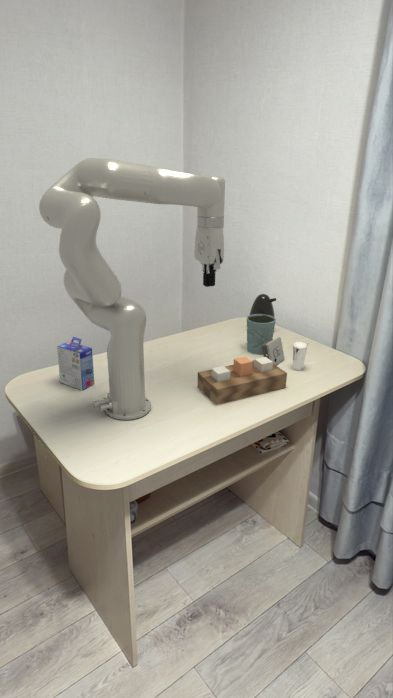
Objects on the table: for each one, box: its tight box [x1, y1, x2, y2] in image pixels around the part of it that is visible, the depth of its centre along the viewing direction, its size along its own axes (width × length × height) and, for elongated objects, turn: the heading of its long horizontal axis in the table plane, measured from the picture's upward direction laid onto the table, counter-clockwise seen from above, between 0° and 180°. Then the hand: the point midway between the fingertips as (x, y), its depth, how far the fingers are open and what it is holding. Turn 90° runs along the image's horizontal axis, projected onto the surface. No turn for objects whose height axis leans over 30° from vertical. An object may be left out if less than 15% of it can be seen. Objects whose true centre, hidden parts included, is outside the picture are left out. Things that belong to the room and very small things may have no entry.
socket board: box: [197, 359, 288, 406], centre depth 141 cm, size 24×12×5 cm, turn 117°
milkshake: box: [292, 341, 309, 371], centre depth 153 cm, size 5×5×10 cm
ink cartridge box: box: [56, 336, 95, 391], centre depth 141 cm, size 10×6×14 cm, turn 58°
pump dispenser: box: [249, 293, 277, 319], centre depth 183 cm, size 10×10×15 cm
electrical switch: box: [261, 336, 285, 366], centre depth 158 cm, size 8×5×8 cm, turn 141°
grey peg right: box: [254, 357, 273, 372], centre depth 144 cm, size 4×4×6 cm
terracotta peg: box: [233, 356, 253, 377], centre depth 140 cm, size 4×4×6 cm
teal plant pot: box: [246, 314, 277, 356], centre depth 167 cm, size 10×10×12 cm
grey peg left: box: [211, 365, 230, 382], centre depth 138 cm, size 4×4×6 cm
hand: (209, 285), depth 139 cm, fingers closed
